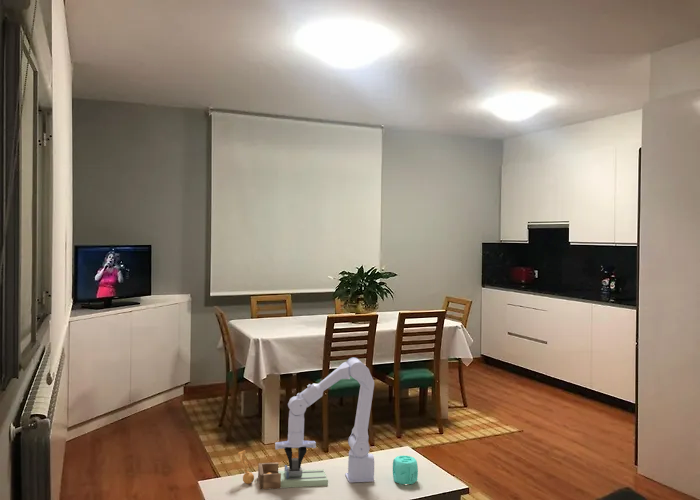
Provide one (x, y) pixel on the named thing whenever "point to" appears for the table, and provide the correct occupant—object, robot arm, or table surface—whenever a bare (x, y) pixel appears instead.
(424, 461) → the table surface
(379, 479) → the table surface
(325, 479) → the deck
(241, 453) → the figurine
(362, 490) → the table surface
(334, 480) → the table surface
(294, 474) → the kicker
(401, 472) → the decorative dice
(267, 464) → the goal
